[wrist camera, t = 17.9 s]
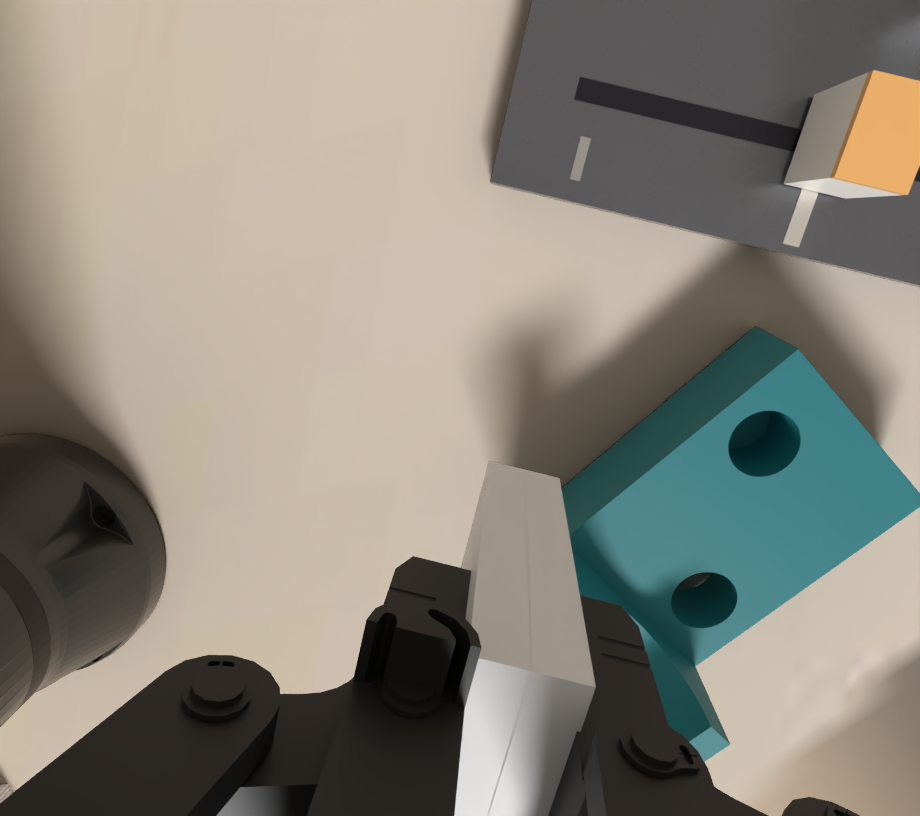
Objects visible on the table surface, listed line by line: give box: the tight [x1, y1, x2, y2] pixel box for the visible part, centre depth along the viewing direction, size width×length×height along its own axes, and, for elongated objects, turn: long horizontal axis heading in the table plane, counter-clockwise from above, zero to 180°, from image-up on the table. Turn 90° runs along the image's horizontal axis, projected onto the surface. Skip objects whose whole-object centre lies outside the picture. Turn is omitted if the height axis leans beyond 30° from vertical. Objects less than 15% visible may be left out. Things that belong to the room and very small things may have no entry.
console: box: [490, 0, 920, 287], centre depth 32 cm, size 25×18×2 cm
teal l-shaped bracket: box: [561, 326, 920, 762], centre depth 35 cm, size 18×11×10 cm, turn 134°
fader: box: [784, 70, 920, 199], centre depth 29 cm, size 3×4×5 cm
